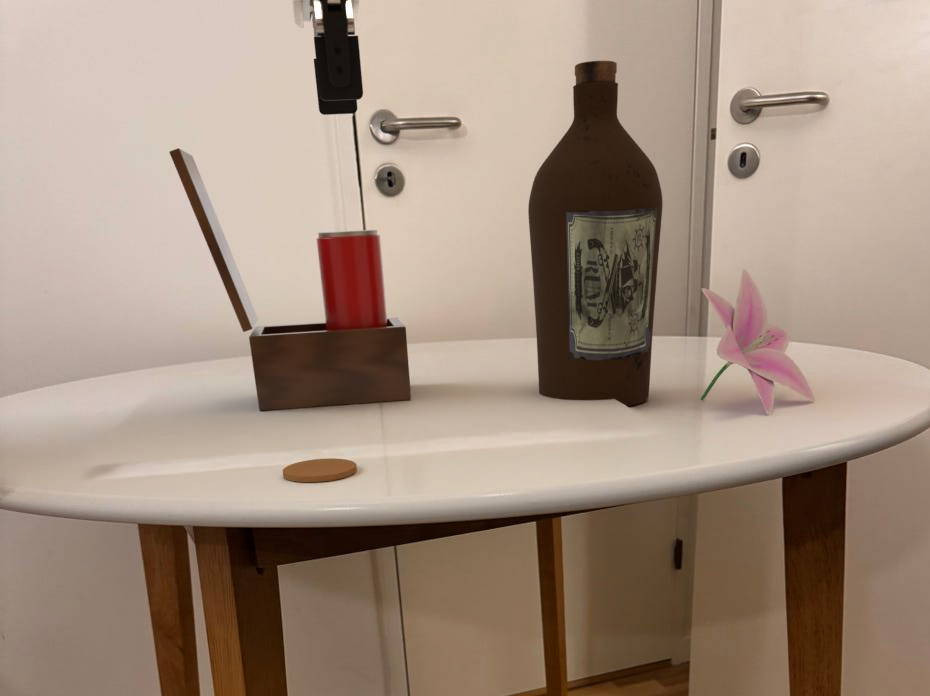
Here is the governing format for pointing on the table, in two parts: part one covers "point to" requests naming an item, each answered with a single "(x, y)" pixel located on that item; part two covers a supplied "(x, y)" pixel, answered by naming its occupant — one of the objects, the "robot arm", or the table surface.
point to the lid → (214, 238)
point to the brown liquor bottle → (595, 252)
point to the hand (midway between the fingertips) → (340, 107)
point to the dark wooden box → (329, 365)
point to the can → (352, 279)
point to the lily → (755, 344)
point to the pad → (319, 470)
